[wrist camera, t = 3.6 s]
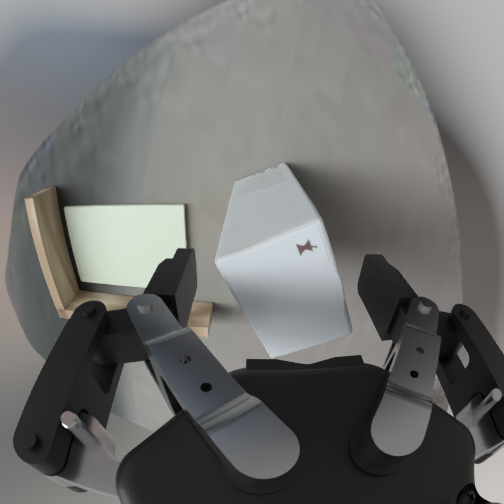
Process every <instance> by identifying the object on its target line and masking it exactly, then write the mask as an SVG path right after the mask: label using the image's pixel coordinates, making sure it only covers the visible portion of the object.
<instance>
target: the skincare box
mask: <svg viewBox="0 0 504 504" xmlns="http://www.w3.org/2000/svg"><path fill="white" fill-rule="evenodd" d="M215 264H216V265H217V267H218V269H219V271H220V273H221V274H222V276H223V278H224V280H225V282H226V283H227V285H228V287H229V289H230V290H231V292H232V294H233V296H234V297H235V299H236V301H237V303H238V304H239V306H240V308H241V309H242V311H243V313H244V314H245V316H246V317H247V319H248V321H249V322H250V324H251V326H252V327H253V329H254V330H255V332H256V334H257V335H258V337H259V339H260V340H261V342H262V344H263V345H264V347H265V348H266V350H267V352H268V354H269V356H270V357H271V358H275V357H278V356H282V355H286V354H289V353H292V352H296V351H299V350H302V349H305V348H309V347H312V346H315V345H318V344H321V343H324V342H327V341H330V340H333V339H336V338H340V337H343V336H346V335H349V334H351V333H352V326H351V321H350V317H349V313H348V308H347V304H346V300H345V295H344V289H343V284H342V281H341V278H340V275H339V271H338V268H337V264H336V261H335V257H334V254H333V251H332V247H331V244H330V241H329V237H328V234H327V231H326V228H325V225H324V222H323V220H322V218H321V216H320V214H319V212H318V211H317V209H316V207H315V205H314V204H313V203H312V201H311V200H310V198H309V197H308V195H307V194H306V192H305V191H304V189H303V188H302V186H301V185H300V183H299V182H298V180H297V179H296V177H295V176H294V174H293V173H292V171H291V170H290V168H289V167H288V165H287V164H286V163H281V164H279V165H276V166H273V167H271V168H268V169H265V170H263V171H260V172H258V173H256V174H253V175H251V176H248V177H246V178H243V179H241V180H238V181H236V182H235V183H234V187H233V191H232V195H231V198H230V202H229V206H228V210H227V214H226V218H225V221H224V225H223V229H222V234H221V237H220V241H219V246H218V250H217V254H216V257H215Z"/></svg>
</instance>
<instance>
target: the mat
mask: <svg viewBox="0 0 504 504" xmlns="http://www.w3.org/2000/svg"><path fill="white" fill-rule="evenodd" d="M64 212H65V217H66V223H67V228H68V232H69V237H70V241H71V246H72V250H73V254H74V258H75V262H76V265H77V269H78V272H79V276H80V279H81V281H83V282H92V283H101V284H111V285H122V286H133V287H144V288H146V287H147V285H148V283H149V281H150V279H151V278H152V276H153V274H154V272H155V270H156V268H157V266H158V265H159V263H161V262H162V261H163V260H165V259H166V258H173V256H174V254H175V252H176V250H177V248H187V238H186V221H185V204H107V205H79V206H65V207H64Z"/></svg>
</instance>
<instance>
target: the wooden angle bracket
mask: <svg viewBox="0 0 504 504" xmlns="http://www.w3.org/2000/svg"><path fill="white" fill-rule="evenodd" d="M25 204H26V209H27V214H28V219H29V223H30V228H31V232H32V236H33V240H34V244H35V247H36V251H37V254H38V258H39V261H40V264H41V267H42V271H43V274H44V277H45V280H46V282H47V285H48V288H49V291H50V293H51V296H52V299H53V301H54V304H55V306H56V309H57V311H58V314H59V316H60V317H62V318H67V319H70V317H71V315H72V314H73V312H74V310H75V309H76V308H77V307H78V306H79V305H81V304H82V303H84V302H87V301H92V300H96V301H101V302H102V303H104V304H105V306H106V309H107V311H110V310H118V309H124V308H126V306H127V304H128V302H129V301H130V300H131V299H132V298H134V296H125V295H115V294H106V293H98V292H90V291H82V290H79V287H78V284H77V281H76V277H75V274H74V271H73V267H72V263H71V260H70V256H69V252H68V248H67V244H66V240H65V235H64V231H63V226H62V221H61V216H60V211H59V205H58V199H57V192H56V186H55V187H47V188H45V189H43V190H41V191H39V192H37V193H35V194H33V195H31V196H29V197H27V198H26V199H25ZM212 315H213V302H196V301H193V304H192V308H191V312H190V316H189V320H188V324H187V326H189V327H190V328H191V329H192V330H193V331H194V332H195V334H196V335H197V336H198V337H209V332H210V326H211V321H212Z"/></svg>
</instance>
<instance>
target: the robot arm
mask: <svg viewBox="0 0 504 504" xmlns="http://www.w3.org/2000/svg"><path fill="white" fill-rule="evenodd" d="M196 288H197V273H196V260H195V250H194V248H177V250H176V252H175V254H174V256H173V258H166V259H165V260H163V261H162V262H161V263H159V265H158V266H157V268H156V270H155V272H154V274H153V276H152V278H151V279H150V281H149V283H148V285H147V287H146V289H145V291H144V293H143V294H141V295H138V296H136V297H134V298H132V299H131V300H130V301H129V302H128V304H127V306H126V308H124V309H118V310H110V311H107V309H106V306H105V304H104V303H102V302H101V301H96V300H92V301H87V302H84V303H82V304H81V305H79V306H78V307H77V308H76V309H75V310H74V312H73V314H72V315H71V317H70V319H69V320H68V322H67V324H66V325H65V327H64V329H63V331H62V332H61V334H60V336H59V338H58V339H57V341H56V343H55V345H54V347H53V349H52V350H51V352H50V354H49V356H48V358H47V360H46V362H45V364H44V366H43V368H42V370H41V372H40V374H39V376H38V378H37V380H36V383H35V385H34V387H33V389H32V391H31V394H30V396H29V398H28V400H27V403H26V405H25V407H24V410H23V412H22V415H21V417H20V420H19V422H18V426H17V428H16V431H15V433H14V437H13V444H14V448H15V451H16V453H17V455H18V456H19V457H20V458H21V459H22V460H23V461H24V462H26V463H27V464H29V465H30V466H32V467H33V468H35V469H36V470H37V471H38V472H39V473H41V474H42V475H44V476H46V477H47V478H49V479H51V480H53V481H54V482H56V483H58V484H60V485H62V486H65V487H67V488H69V489H71V490H73V491H75V492H86V491H91V492H94V493H97V494H100V495H104V496H107V497H110V498H115V499H118V500H120V502H121V504H500V503H492V502H489V501H487V500H485V499H483V498H482V497H481V496H480V495H479V494H478V492H477V490H476V487H475V482H474V463H476V464H479V463H482V462H483V461H485V460H486V459H488V458H489V457H491V456H492V455H493V454H495V453H496V452H497V451H499V450H500V449H501V448H502V447H504V355H503V353H502V351H501V350H500V348H499V347H498V345H497V344H496V342H495V341H494V339H493V338H492V336H491V335H490V333H489V332H488V330H487V329H486V327H485V326H484V324H483V323H482V322H481V320H480V319H479V318H478V316H477V315H476V313H475V312H474V311H473V310H472V309H471V308H469V307H468V306H466V305H463V304H456V305H454V307H453V309H452V311H451V313H447V312H441V311H439V308H438V306H437V305H436V304H435V303H434V302H433V301H432V300H430V299H428V298H425V297H420V296H419V297H418V296H417V294H416V293H415V292H414V290H413V289H412V288H411V286H410V285H409V284H408V283H407V281H406V280H405V279H404V278H403V276H402V275H401V273H400V272H399V271H398V270H397V269H396V268H394V267H393V266H391V265H390V264H389V263H388V262H387V261H386V259H385V258H384V257H383V256H382V255H378V254H367V255H366V256H365V258H364V262H363V265H362V269H361V273H360V277H359V281H358V293H359V296H360V297H361V299H362V301H363V303H364V305H365V307H366V309H367V311H368V313H369V315H370V317H371V319H372V321H373V323H374V326H375V328H376V330H377V332H378V334H379V336H380V338H381V340H382V341H384V340H392V341H393V342H392V344H391V346H390V348H389V351H388V354H387V356H386V359H385V361H384V364H383V366H382V368H380V367H378V366H375V365H371V364H366V363H364V362H363V359H362V357H361V355H355V356H344V357H334V358H331V359H327V360H324V361H320V362H316V363H313V364H300V363H294V362H288V361H283V360H278V359H246V368H241V369H238V370H234V371H232V372H229V373H228V372H227V370H226V369H225V368H224V367H223V366H222V365H221V364H220V362H219V361H218V360H217V359H216V358H215V357H214V355H213V354H212V353H211V352H210V351H209V349H208V348H207V347H206V346H205V345H204V343H203V342H202V341H201V340H200V339H199V337H198V336H197V335H196V334H195V332H194V331H193V330H192V329H191V328H190V327H189V326H187V324H188V320H189V316H190V312H191V308H192V304H193V301H194V297H195V293H196ZM462 345H464V347H465V348H466V350H467V352H468V354H469V358H470V359H469V364H468V366H467V367H466V369H465V368H464V366H463V364H462V362H461V360H460V358H459V356H458V355H457V353H458V352H459V350H460V348H461V347H462ZM136 361H144V363H145V365H146V367H147V369H148V370H149V372H150V374H151V376H152V378H153V379H154V381H155V383H156V385H157V386H158V388H159V390H160V392H161V393H162V395H163V397H164V399H165V401H166V403H167V405H168V407H169V409H170V410H171V412H172V414H173V415H174V417H173V418H171V419H170V420H169V421H168V422H167V423H165V424H164V425H163V426H162V427H160V428H159V429H158V430H157V431H156V432H154V433H153V434H152V435H151V436H149V437H148V438H147V439H145V440H144V441H143V442H142V443H141V444H139V445H138V446H136V447H135V448H134V449H132V450H131V451H130V452H129V453H128V454H127V455H126V456H125V457H124V458H123V460H122V461H121V462H118V461H117V459H116V455H115V443H114V440H113V438H112V437H111V435H110V434H109V433H108V432H107V431H106V426H107V422H108V418H109V414H110V410H111V407H112V403H113V399H114V396H115V392H116V389H117V385H118V382H119V379H120V375H121V372H122V369H123V366H124V363H129V362H136ZM436 374H437V376H438V379H439V381H440V383H441V385H442V388H443V390H444V392H445V395H446V397H447V400H448V402H449V405H450V407H451V410H452V412H453V415H454V417H453V416H451V415H450V414H448V413H447V412H445V411H444V410H442V409H441V408H440V407H438V406H437V405H435V404H434V403H432V402H431V401H430V399H431V394H432V390H433V385H434V380H435V375H436Z"/></svg>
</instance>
